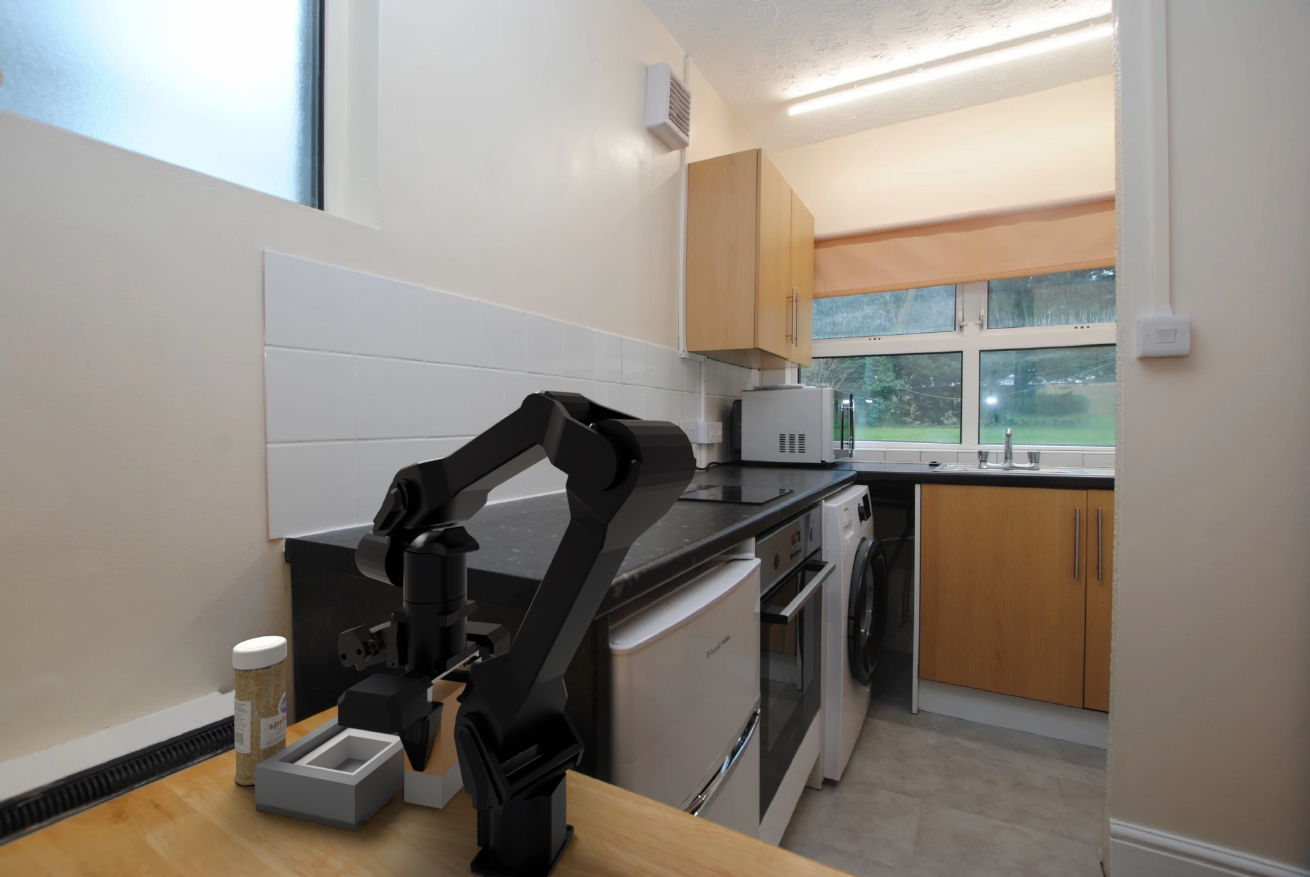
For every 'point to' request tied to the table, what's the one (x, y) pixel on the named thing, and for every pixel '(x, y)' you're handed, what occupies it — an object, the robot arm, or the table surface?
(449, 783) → the block
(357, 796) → the inlet box
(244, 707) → the sprinkles bottle
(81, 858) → the table surface
